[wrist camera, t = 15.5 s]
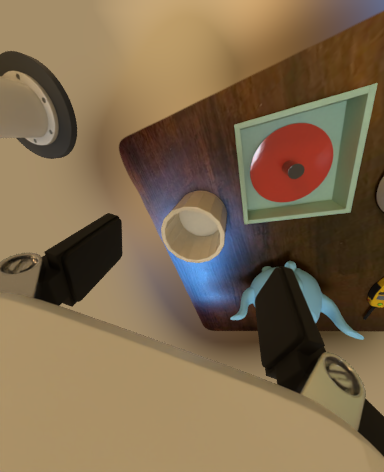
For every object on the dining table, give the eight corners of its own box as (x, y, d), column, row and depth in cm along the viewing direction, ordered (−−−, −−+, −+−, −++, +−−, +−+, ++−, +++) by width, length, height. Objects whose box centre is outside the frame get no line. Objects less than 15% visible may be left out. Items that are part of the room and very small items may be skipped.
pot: (167, 214, 44) (149, 234, 35) (200, 178, 37) (189, 192, 28) (201, 245, 46) (193, 271, 37) (238, 217, 40) (238, 240, 31)
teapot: (331, 285, 44) (366, 341, 32) (263, 309, 53) (271, 358, 42) (296, 243, 40) (322, 288, 28) (231, 277, 50) (229, 321, 38)
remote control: (412, 283, 37) (377, 324, 44) (405, 277, 38) (373, 318, 46) (385, 280, 38) (356, 321, 45) (379, 274, 39) (352, 315, 47)
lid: (235, 167, 34) (235, 172, 29) (301, 102, 27) (315, 95, 22) (276, 213, 37) (282, 224, 32) (346, 165, 30) (367, 170, 25)
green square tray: (243, 213, 39) (244, 224, 34) (234, 126, 31) (234, 124, 26) (334, 201, 34) (350, 212, 29) (352, 92, 26) (377, 82, 21)
